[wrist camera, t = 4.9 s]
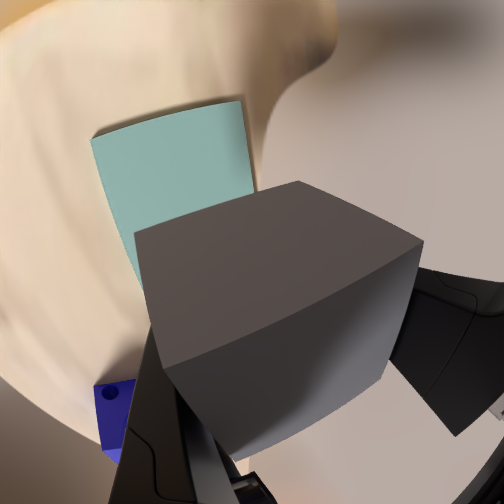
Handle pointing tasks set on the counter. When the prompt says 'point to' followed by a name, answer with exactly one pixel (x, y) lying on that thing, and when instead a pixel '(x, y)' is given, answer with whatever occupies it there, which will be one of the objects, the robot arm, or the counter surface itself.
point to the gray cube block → (275, 308)
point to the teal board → (173, 167)
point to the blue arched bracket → (113, 415)
